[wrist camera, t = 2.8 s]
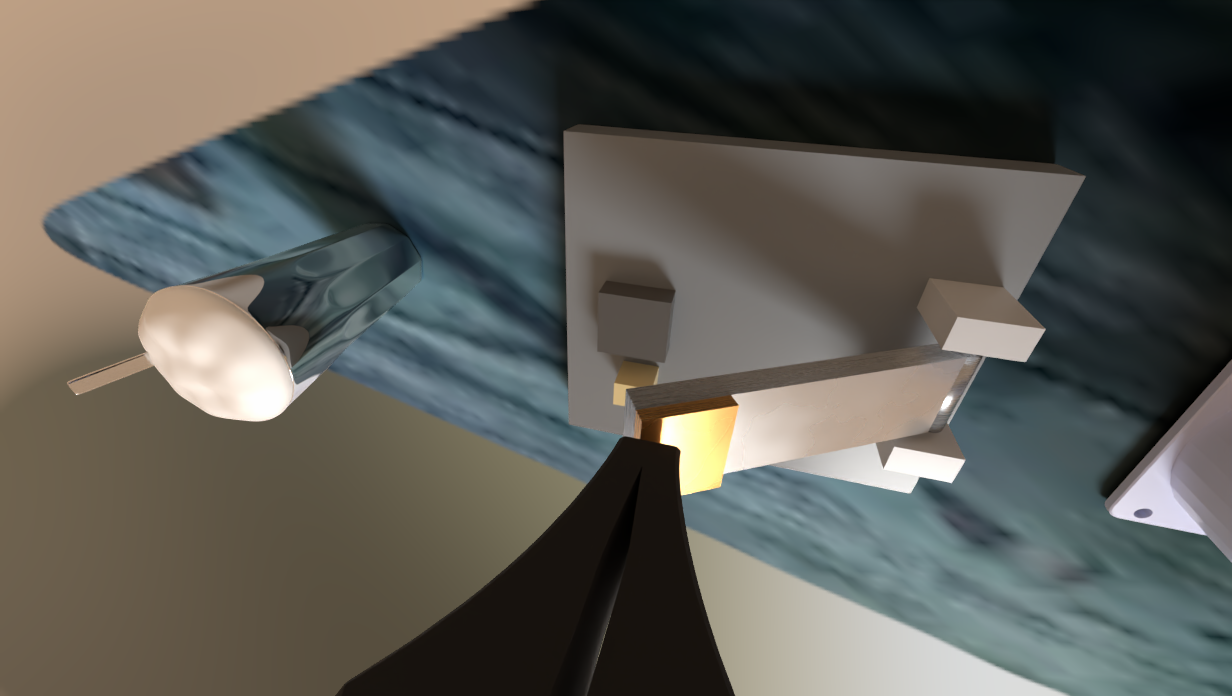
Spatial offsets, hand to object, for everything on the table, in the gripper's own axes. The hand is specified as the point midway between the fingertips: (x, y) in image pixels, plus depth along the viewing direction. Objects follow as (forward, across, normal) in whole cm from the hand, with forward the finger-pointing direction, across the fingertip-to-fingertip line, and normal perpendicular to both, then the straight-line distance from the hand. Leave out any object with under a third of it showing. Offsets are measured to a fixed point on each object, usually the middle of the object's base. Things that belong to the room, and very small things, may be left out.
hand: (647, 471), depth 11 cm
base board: (+9, -2, 0) cm, 9 cm away
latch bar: (+4, -4, 0) cm, 5 cm away
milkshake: (+9, +14, 0) cm, 16 cm away
